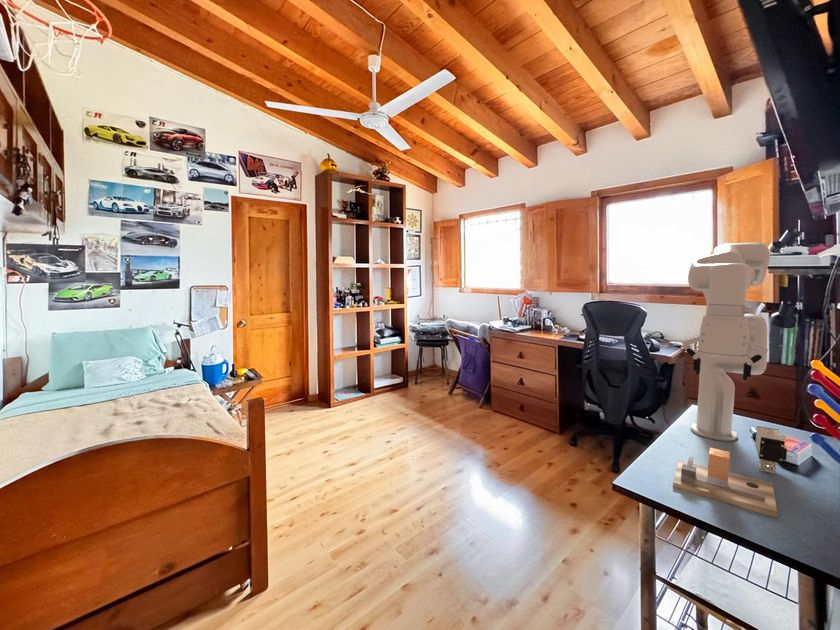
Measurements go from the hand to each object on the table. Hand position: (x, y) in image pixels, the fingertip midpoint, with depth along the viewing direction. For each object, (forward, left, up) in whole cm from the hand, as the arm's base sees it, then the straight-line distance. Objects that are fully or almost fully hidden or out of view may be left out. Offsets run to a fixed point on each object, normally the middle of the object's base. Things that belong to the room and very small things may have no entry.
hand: (720, 376), depth 99 cm
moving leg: (+5, +1, -27) cm, 27 cm away
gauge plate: (+4, +2, -29) cm, 29 cm away
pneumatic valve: (-14, +12, -29) cm, 34 cm away
